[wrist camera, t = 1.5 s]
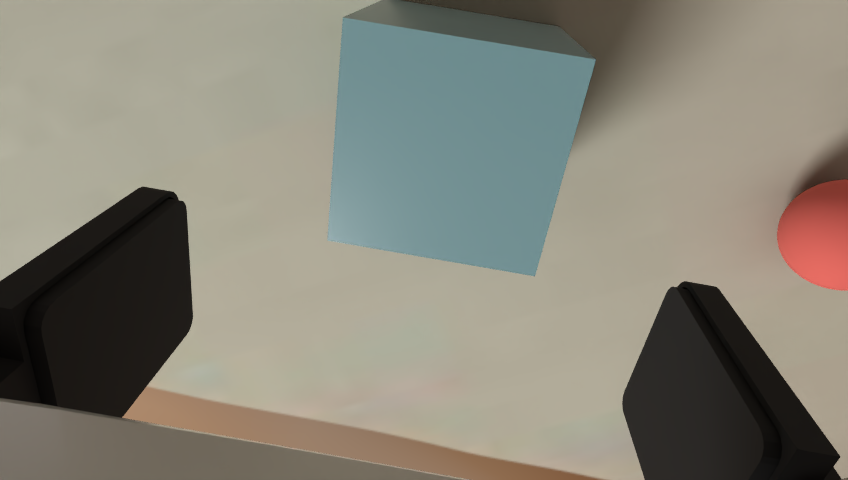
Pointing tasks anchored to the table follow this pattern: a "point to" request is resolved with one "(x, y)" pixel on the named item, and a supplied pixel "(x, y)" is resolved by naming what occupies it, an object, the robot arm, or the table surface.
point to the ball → (817, 235)
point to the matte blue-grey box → (453, 133)
